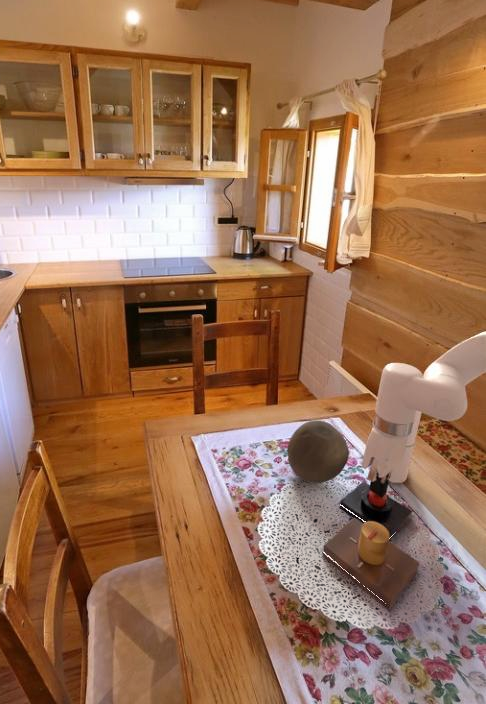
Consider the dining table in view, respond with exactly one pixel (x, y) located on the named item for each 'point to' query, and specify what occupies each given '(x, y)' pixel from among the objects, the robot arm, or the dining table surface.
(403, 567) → the knob panel
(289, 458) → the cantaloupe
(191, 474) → the dining table surface
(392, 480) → the cylindrical container
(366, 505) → the button box
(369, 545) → the dial knob
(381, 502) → the red button
